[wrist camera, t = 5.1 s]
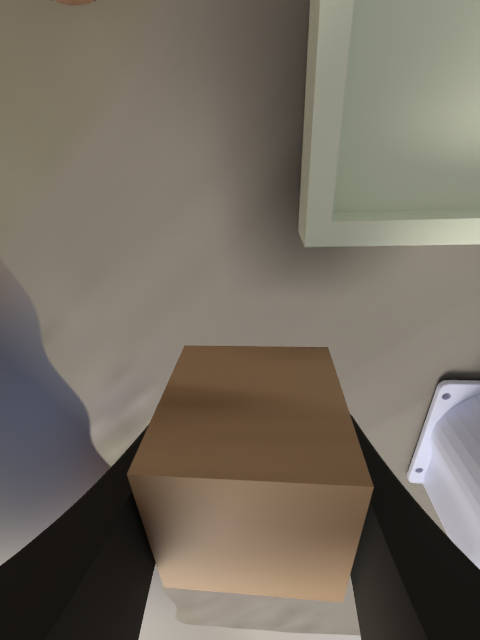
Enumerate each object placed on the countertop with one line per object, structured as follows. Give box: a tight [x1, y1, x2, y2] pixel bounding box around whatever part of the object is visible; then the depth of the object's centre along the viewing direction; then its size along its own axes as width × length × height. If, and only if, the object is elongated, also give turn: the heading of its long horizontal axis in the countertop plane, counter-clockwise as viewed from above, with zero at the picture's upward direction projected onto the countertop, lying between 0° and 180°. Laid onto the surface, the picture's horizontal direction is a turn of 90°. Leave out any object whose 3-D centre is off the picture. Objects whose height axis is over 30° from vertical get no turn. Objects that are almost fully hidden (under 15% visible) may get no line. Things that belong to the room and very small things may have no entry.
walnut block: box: [127, 346, 374, 602], centre depth 9 cm, size 5×5×5 cm
